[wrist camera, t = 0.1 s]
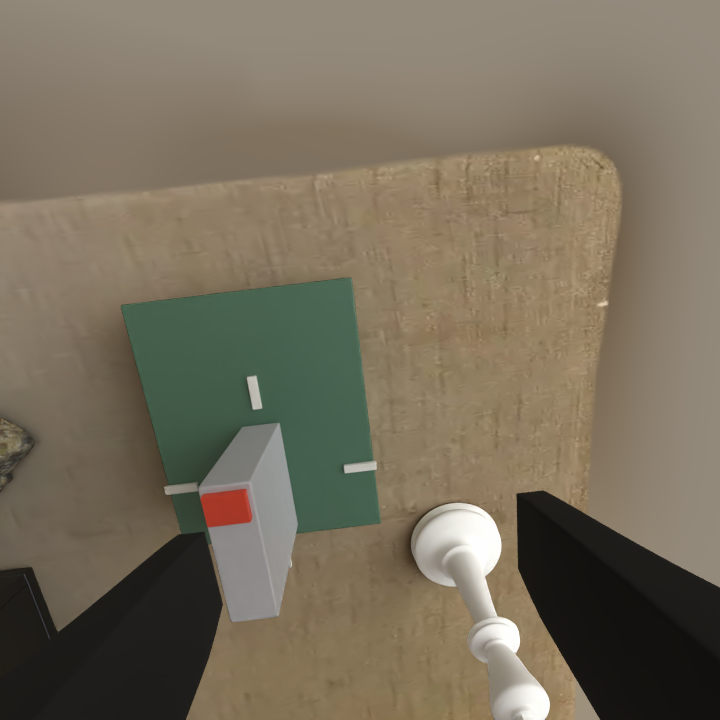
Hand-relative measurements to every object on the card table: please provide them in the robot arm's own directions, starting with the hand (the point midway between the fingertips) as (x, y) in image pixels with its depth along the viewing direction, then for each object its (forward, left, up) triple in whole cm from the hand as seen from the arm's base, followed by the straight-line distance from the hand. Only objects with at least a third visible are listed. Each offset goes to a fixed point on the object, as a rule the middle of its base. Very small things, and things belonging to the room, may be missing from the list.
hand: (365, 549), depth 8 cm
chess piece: (-9, -4, -10) cm, 14 cm away
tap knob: (-2, +4, -7) cm, 8 cm away
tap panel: (+1, +4, -10) cm, 11 cm away
